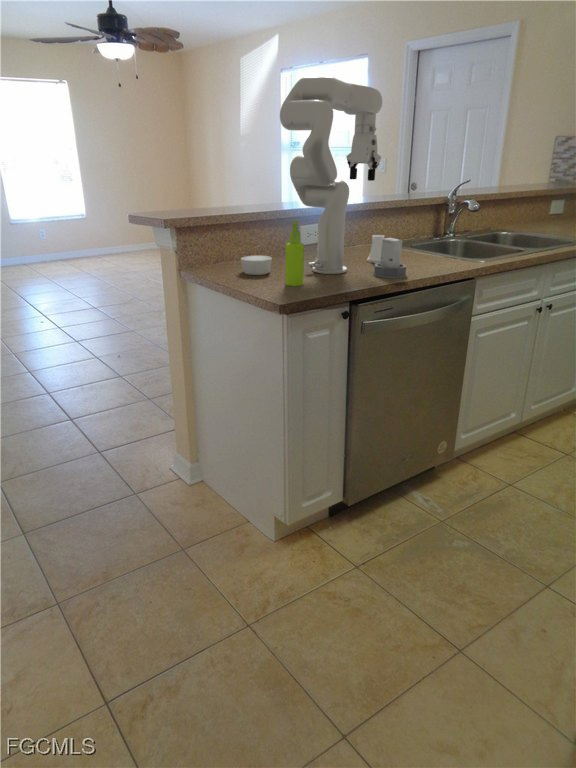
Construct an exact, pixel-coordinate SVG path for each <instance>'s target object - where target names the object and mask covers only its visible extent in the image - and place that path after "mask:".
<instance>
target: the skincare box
mask: <svg viewBox="0 0 576 768" xmlns="http://www.w3.org/2000/svg"><path fill="white" fill-rule="evenodd" d="M402 247H403V239H398V238H393V237H387V238H386V237H384V239H383V240H382V249H381V259H380V267H385V268H399V266H400V264H401V257H402V249H403V248H402Z"/></svg>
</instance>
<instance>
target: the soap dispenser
mask: <svg viewBox="0 0 576 768" xmlns="http://www.w3.org/2000/svg"><path fill="white" fill-rule="evenodd" d="M291 225H292V228H291V232H289V242H287V243H285V285H286V286H289V287H290V286H291V287H298V286H299V287H300V286H303V285H304V262H305V261H304V259H305V257H304V256H305V252H304V251H305V244H304V243H303V242H301V232H299V231H298V227H299V222H298V220H292V221H291Z"/></svg>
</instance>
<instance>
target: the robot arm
mask: <svg viewBox="0 0 576 768" xmlns="http://www.w3.org/2000/svg"><path fill="white" fill-rule="evenodd" d="M382 108H383V96H382V94H381V92H380V91H379V90H378V89H377V88H374V87H371V86H367V85H366V86H365V85H361V84H357V83H356V84H355V83H352V82H351V83H350V82H345V81H343V80H341V79H338V78H336V77H334V76H331V75H330V76H329V75H317V76H316V75H315V76H303V77H302V78H300V79H299V80H298V81H297V82H295V84H294V85H293V87H292V88H291V90H290V91H289V93H288V95H287V96H286V98H285V99H284V101H283V103H282V105H281V107H280V110H279V121H280V123H281V125H282V127H283V128H284V129H285V130H288V131H310V132H309V135H308V137H307V138H306V139H305V141H304V143H303V146H302V154H300V155H297V156H295V157H294V158H292V160H291V163H290V166H289V176H290V180H291V183H292V185H293V187H294V189H295V192H296V193H297V195H298V198H299V199H300V201H301V203H302V204H303V205H304V206H306V207H310V208H323V209H324V211H323V212H322V213H321V215H320V216H319V218H318V221H317V249H316V250H317V251H316V252H317V253H316V254H317V255H316V258H314V261H313V262H312V261H311V262H310V261H309V262H307V263H306V267H307V268H308V269H311V268H312V271H313V272H315V273H318V274H324V275H337V274H344V273H347V271H348V268H347V266H344V252H345V250H344V249H345V226H346V215H347V207H348V203H349V199H350V198H349V197H350V186H349V185H348V184H347V183H346V182H345V181H344V180H341V179H337V177H338V170H337V169H338V168H337V166H336V163H335V160H334V157H333V155H332V152H331V150H330V149H331V148H330V145H329V141H330V135H331V131H332V127H333V121H334V110H335V111H339V112H343V113H345V114H346V115H350V116H354V117H355V118H354V134H353V137H352V141H351V150H350V153H348V154H347V155H346V157H345V158H346V160H347V165H348V168H349V180H357V178H358V168H357V166H358V165H359V164H363V165H365V164H367V166H368V168H369V169H368V170H367V181H369V182H370V181H375V180H376V179H375V178H376V170H377V168H378V166H379V165H380V161H381V160H382V156H381V155H379V153H378V139H377V134H375V133H376V131H377V127H376V122H377V121H376V120H377V114H378V113H380V111H381V109H382Z"/></svg>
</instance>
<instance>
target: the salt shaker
mask: <svg viewBox="0 0 576 768" xmlns="http://www.w3.org/2000/svg"><path fill="white" fill-rule="evenodd" d="M371 239H372V241H371V249H370V251H369V255H368V257H367V258H366V259H367V260H366V262H368V263H372V264H373V263H374V264H375V263H380V259H381V249H382V240H383V239H385V235H383V234H373V235H371Z"/></svg>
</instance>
